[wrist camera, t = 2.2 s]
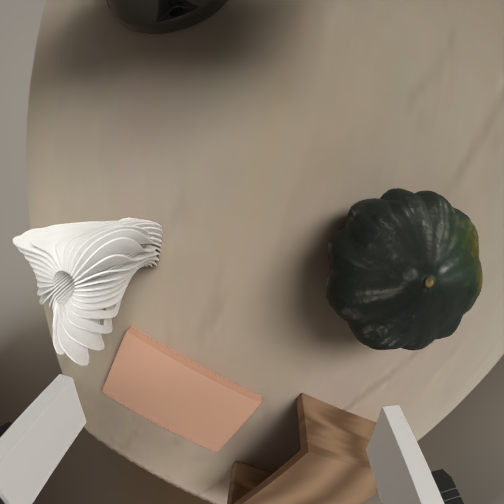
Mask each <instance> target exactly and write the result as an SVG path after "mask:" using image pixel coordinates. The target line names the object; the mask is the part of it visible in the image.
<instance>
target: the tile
mask: <svg viewBox="0 0 504 504" xmlns="http://www.w3.org/2000/svg"><path fill="white" fill-rule="evenodd" d="M102 393H104V394H105V395H107V396H109V397H110V398H112V399H113V400H115V401H117V402H118V403H120V404H122V405H123V406H125V407H127V408H128V409H130V410H132V411H134V412H135V413H137V414H139V415H141V416H142V417H144V418H146V419H148V420H150V421H152V422H154V423H155V424H157V425H159V426H161V427H163V428H165V429H167V430H169V431H171V432H173V433H175V434H177V435H179V436H181V437H183V438H185V439H188V440H190V441H192V442H194V443H196V444H199V445H201V446H203V447H205V448H208V449H210V450H212V451H215V452H217V451H218V450H219V449H220V448H221V447H222V446H223V445H224V444H225V443H226V442H227V441H228V440H229V439H230V438H231V437H232V435H233V434H234V433H235V432H236V431H237V430H238V429H239V428H240V427H241V426H242V424H243V423H244V422H245V421H246V420H247V419H248V418H249V417H250V415H251V414H252V413H253V412H254V411H255V410H256V409H257V407H258V406H259V405H260V404H261V396H260V395H258V394H256V393H254V392H252V391H249V390H247V389H245V388H243V387H241V386H239V385H237V384H235V383H233V382H231V381H229V380H227V379H225V378H223V377H221V376H219V375H217V374H215V373H213V372H211V371H209V370H207V369H205V368H204V367H202V366H200V365H198V364H196V363H194V362H192V361H191V360H189V359H187V358H185V357H183V356H181V355H180V354H178V353H176V352H174V351H173V350H171V349H169V348H167V347H166V346H164V345H162V344H161V343H159V342H157V341H155V340H154V339H152V338H150V337H149V336H147V335H145V334H144V333H142V332H141V331H139V330H137V329H136V328H134V327H133V326H131V327H130V328H129V329H128V330H127V331H126V333H125V336H124V338H123V340H122V343H121V345H120V348H119V350H118V352H117V355H116V357H115V360H114V362H113V365H112V367H111V370H110V372H109V375H108V377H107V380H106V382H105V385H104V387H103V390H102Z"/></svg>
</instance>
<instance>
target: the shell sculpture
mask: <svg viewBox="0 0 504 504" xmlns="http://www.w3.org/2000/svg"><path fill="white" fill-rule="evenodd" d="M161 229H162V226H161V225H159V224H157V223H156V222H152V221H148V220H142V219H136V218H124V219H121V220H119V221H104V222H98V221H94V222H79V223H67V224H58V225H52V226H48V227H45V228H36V229H31V230H29V231H27V232H25V233H23V234H22V235H20V236H16V237H14V238H13V244H14V245H16V246H17V248H18V250H19V251H20V252H21V253H23V254H24V257H25V259H27V260H28V261H29V262H30V265H31V267H33V270H34V273H35V274H36V279H37V280H38V283H37V286H38V288H39V290H38V292H37V295H38V296H41V295H42V296H41V298H40V301H39V303H40V304H43V303H44V302H45V301H46V300H47V299H48V298H49V308H50V307H51V306H52V304H53V306H52V310H53V317H54V318H53V344H54V348H55V350H56V352H57V353H58V354H59V355H62V354H64V353H66V354H67V355H68V357H69V358H71V359H72V360H73V361H74V362H76V363H77V364H79V365H81V366H86V365H88V363H89V354H88V348H90V349H93V350H98V351H99V350H103V349H104V342H103V339H102V335H101V333H102V334H109V333H111V332H112V318H114V317H115V316H116V315H117V314H118V311H119V308H120V304H121V300H122V297H123V295H124V292H125V290H126V288H127V286H128V283H129V281H130V280H131V278H132V276H133V275H134V274H135V272H136V271H137V270H138V269H139V268H141V267H144V266H146V267H148V265H150V266H151V267H153V266H152V264H151V263H153V264H154V265H156V267H158V266H157V264H156V262H155V261H154V260H156V261H160V260H159V259H158V258H157V257H156V256H157V255H159V256H160V254H159V253H158V252H157V251H155V250H156V249H157V250H159V251H161V249H159V248H158V247H161V246H162V245H160V244H159V243H162V241H161V240H160V239H162V236H161V235H162V234H163V231H162V230H161ZM138 243H140V244H138ZM142 244H152V245H155V246H158V247H155V246H152V245H142ZM140 245H142V246H140ZM144 246H146V247H144ZM120 271H121V272H120ZM75 278H76V279H75ZM74 279H75V280H74ZM73 280H74V281H73ZM62 285H63V286H62ZM115 304H116V306H115V307H114V305H115ZM103 308H106V310H103ZM100 319H104V325H100Z"/></svg>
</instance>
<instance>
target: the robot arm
mask: <svg viewBox="0 0 504 504" xmlns="http://www.w3.org/2000/svg"><path fill="white" fill-rule="evenodd" d="M226 1H227V0H107V3H108V6H109V8H110V10H111V12H112V13H113V15H114V16H115V17H116V18H117V19H118V20H120V21H121V22H122V23H123V24H124V25H125V26H127V27H128V28H130V29H132V30H135V31H138V32H143V33H166V32H172V31H176V30H180V29H183V28H186V27H189V26H191V25H193V24H196V23H198V22H200V21H202V20H203V19H205V18H207V17H208V16H210V15H211V14H213V13H214V12H215V11H217V10H218V9H219V8H220V7H221V6H222V5H223V4H224V3H225V2H226ZM86 422H87V421H86V418H85V416H84V413H83V410H82V407H81V404H80V400H79V397H78V394H77V391H76V387H75V384H74V381H73V378H72V377H68V376H65V375H61V374H59V375H58V376H57V377H56V378H55V379H54V381H53V382H52V383H51V384H50V385H49V386H48V387H47V388H46V389H45V390H44V391H43V392H42V393H41V394H40V395H39V396H38V397H37V398H36V399H35V400H34V401H33V403H32V404H31V405H30V406H29V407H28V408H27V409H26V410H25V411H24V412H23V413H22V414H21V415H20V416H19V418H18V419H17V420H16V421H15V422H14V423H13V424H12V423H10V422H8V423H6V424H4V425H2V426H1V427H0V504H1V503H2V501H3V502H4V503H5V504H32V503H33V502H34V500H35V498H36V497H37V495H38V494H39V492H40V490H41V489H42V488H43V486H44V484H45V483H46V481H47V480H48V478H49V477H50V475H51V473H52V472H53V471H54V469H55V468H56V466H57V465H58V463H59V462H60V460H61V459H62V457H63V456H64V454H65V453H66V451H67V450H68V448H69V447H70V445H71V444H72V443H73V441H74V440H75V438H76V437H77V435H78V433H79V432H80V431H81V429H82V428H83V427H84V425H85V424H86ZM366 452H367V455H368V459H369V462H370V465H371V469H372V472H373V476H374V479H375V483H376V486H377V490H378V494H379V497H380V501H381V504H464V503H463V501H462V499H461V497H460V494H459V492H458V490H457V489H456V486H455V484H454V482H453V480H452V478H451V476H449V475H448V474H447V473H446V472H445V471H444V470H443V469H441V470H437V471H433V472H430V469H429V467H428V465H427V463H426V461H425V458H424V456H423V454H422V452H421V450H420V448H419V446H418V443H417V441H416V439H415V437H414V435H413V433H412V431H411V429H410V427H409V425H408V422H407V420H406V418H405V416H404V414H403V412H402V410H401V408H400V406H399V405H397V406H386V407H382V410H381V412H380V415H379V418H378V421H377V423H376V426H375V429H374V431H373V434H372V436H371V439H370V441H369V444H368V446H367V449H366Z"/></svg>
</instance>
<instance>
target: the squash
mask: <svg viewBox="0 0 504 504" xmlns="http://www.w3.org/2000/svg"><path fill="white" fill-rule="evenodd" d="M328 256H329V262H330V267H331V271H330V273H329V275H328V279H327V283H326V292H327V299H328V302H329V304H330V305H331V307H332V308H333V309H334V310H335V311H336V313H337V314H338V315H340V316H341V317H342V318H343V319H344V320H346V321H348V324H349V326H350V328H351V330H352V331H353V333H354V335H355V336H356V338H357V339H358V340H359V341H360V342H361V343H363V344H364V345H367V346H368V347H370V348H372V349H377V350H388V349H397V348H403V349H407V350H419V349H423V348H425V347H426V346H428V345H429V344H430V343H432V342H433V341H434V340H435V339H441V338H445V337H448V336H450V335H452V334H453V333H454V332H455V330H456V329H457V327H458V325H459V324H460V321H461V319H462V316H463V314H465V313H466V312H467V311H469V310H470V309H471V307H472V306H473V304H474V303H475V301H476V299H477V297H478V296H479V294H480V292H481V288H482V268H481V263H480V260H479V243H478V233H477V230H476V228H475V226H474V225H473V224H472V222H471V220H470V218H469V217H468V216H467V215H465V214H464V213H463V212H461V211H460V210H458V209H456V208H453V207H452V206H451V204H450V203H449V202H448V201H447V200H446V199H445V198H444V197H442V196H441V195H439V194H437V193H435V192H432V191H420V192H417V193H415V194H414V193H412V192H410V191H407V190H404V189H399V188H398V189H391V190H388V191H387V192H386V193H384V194H383V196H382V197H381V198H380V199H376V198H374V199H366V200H362V201H359V202H357V203H356V204H354V205H353V206H352V207H351V209H350V211H349V213H348V216H347V225H346V227H345V228H343V229H341V230H340V231H339V232H337V233H336V234H335V235H334V236H333V237H332V238H331V239H330V241H329V243H328Z"/></svg>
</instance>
